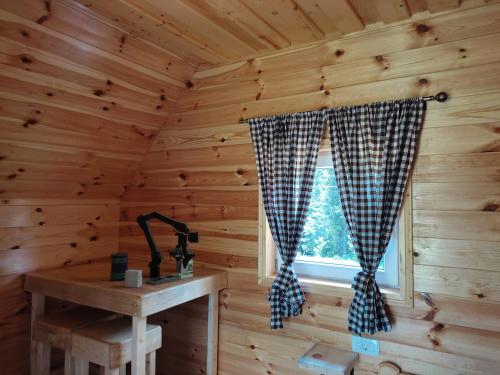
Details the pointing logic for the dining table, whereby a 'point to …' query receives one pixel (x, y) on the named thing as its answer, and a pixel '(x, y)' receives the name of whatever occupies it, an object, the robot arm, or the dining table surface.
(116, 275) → the storage jar
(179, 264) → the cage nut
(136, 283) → the medicine box
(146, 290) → the dining table surface
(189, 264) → the coffee can
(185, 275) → the parts tray
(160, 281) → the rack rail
